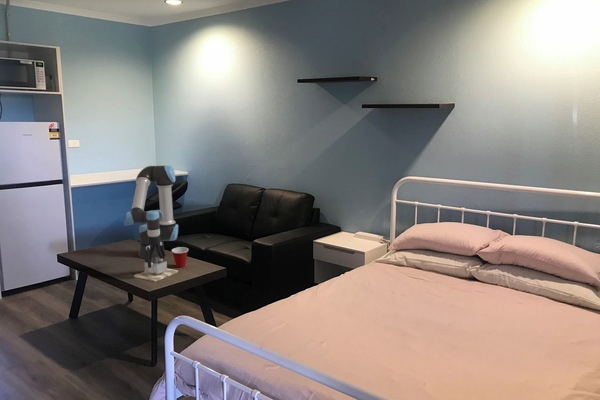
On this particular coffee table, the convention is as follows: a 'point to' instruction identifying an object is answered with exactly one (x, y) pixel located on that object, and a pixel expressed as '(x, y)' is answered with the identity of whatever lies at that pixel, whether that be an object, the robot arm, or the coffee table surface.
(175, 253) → the plastic cup
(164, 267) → the white box
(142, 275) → the keeper board
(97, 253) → the coffee table surface
